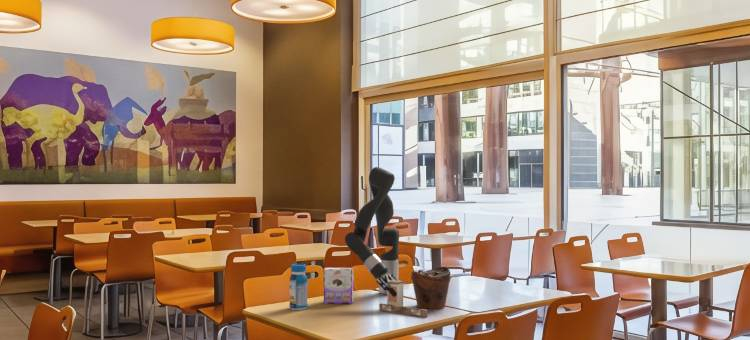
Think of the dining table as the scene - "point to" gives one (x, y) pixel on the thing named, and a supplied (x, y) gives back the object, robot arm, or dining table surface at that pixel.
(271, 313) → the dining table surface
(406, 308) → the rail
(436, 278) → the brown round rimmed container
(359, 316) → the dining table surface
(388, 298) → the sugar carton
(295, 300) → the beverage bottle
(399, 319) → the dining table surface
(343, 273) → the candy box
